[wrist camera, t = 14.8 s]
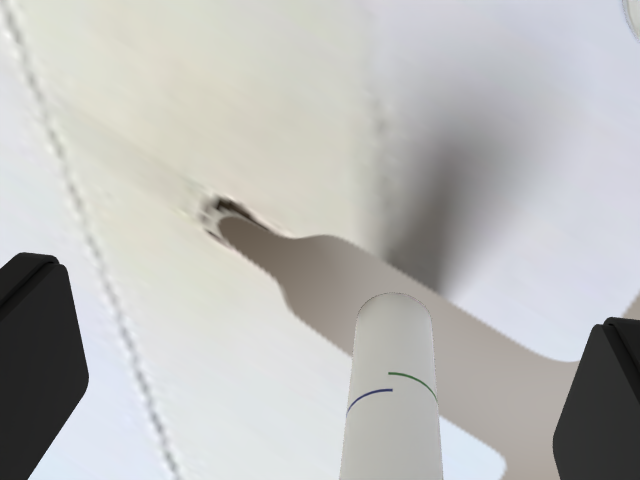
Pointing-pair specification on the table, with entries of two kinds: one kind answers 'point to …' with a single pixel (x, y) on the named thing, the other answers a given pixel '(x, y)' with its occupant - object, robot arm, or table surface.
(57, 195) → the table surface
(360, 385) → the cylindrical container
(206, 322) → the table surface
